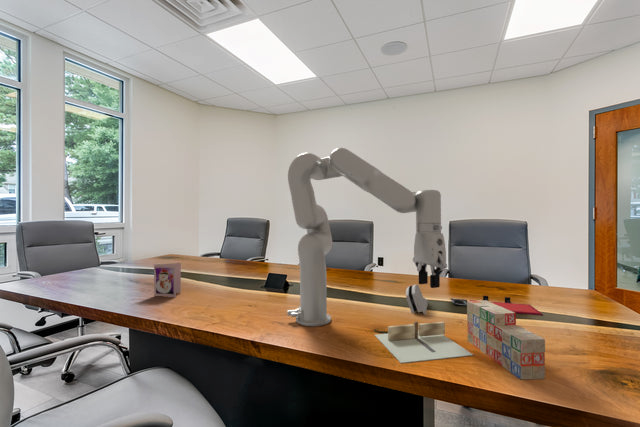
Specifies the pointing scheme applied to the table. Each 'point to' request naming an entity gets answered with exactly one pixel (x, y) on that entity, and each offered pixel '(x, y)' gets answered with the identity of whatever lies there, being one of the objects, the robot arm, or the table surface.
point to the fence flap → (431, 329)
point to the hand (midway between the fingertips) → (428, 285)
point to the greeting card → (167, 279)
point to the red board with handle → (505, 306)
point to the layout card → (423, 348)
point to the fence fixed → (403, 332)
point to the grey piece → (416, 299)
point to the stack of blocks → (505, 340)
